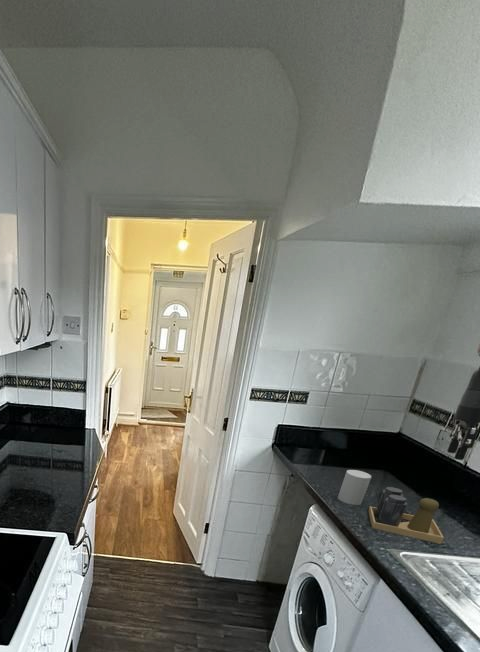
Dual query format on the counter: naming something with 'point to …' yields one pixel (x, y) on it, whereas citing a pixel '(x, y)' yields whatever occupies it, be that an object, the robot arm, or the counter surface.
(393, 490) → the shaker
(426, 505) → the cork
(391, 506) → the shaker
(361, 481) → the white upright cylinder
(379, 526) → the tray
